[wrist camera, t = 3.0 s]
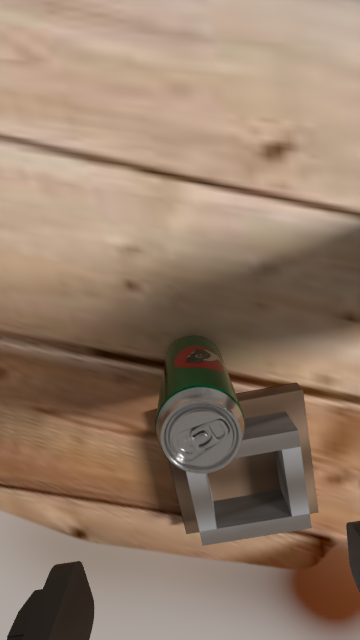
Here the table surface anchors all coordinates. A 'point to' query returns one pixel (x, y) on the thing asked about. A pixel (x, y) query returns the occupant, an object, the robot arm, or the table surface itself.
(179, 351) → the soda can
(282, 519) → the grey hollow square frame
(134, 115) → the table surface
